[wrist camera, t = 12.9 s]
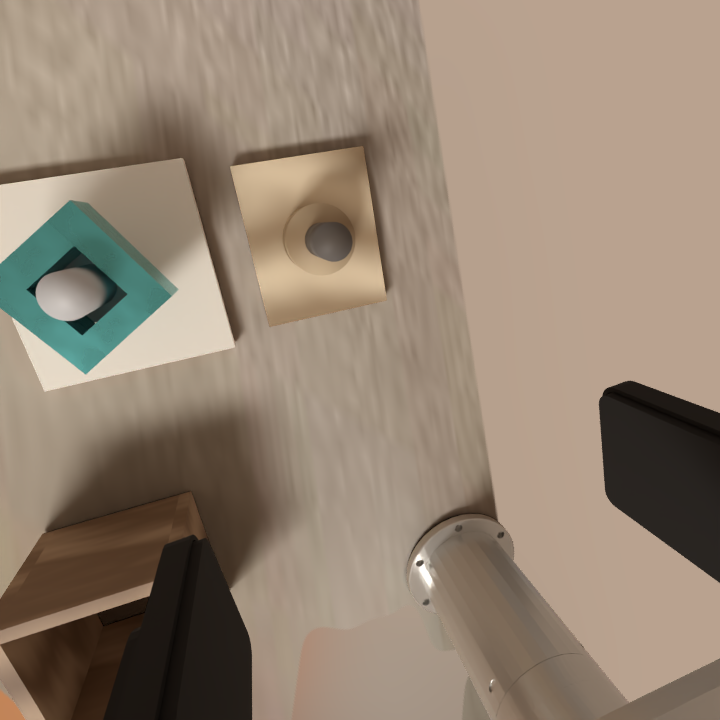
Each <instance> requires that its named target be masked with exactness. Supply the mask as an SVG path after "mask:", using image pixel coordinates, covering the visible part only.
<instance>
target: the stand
mask: <svg viewBox="0 0 720 720" xmlns="http://www.w3.org/2000/svg"><path fill="white" fill-rule="evenodd" d="M230 169H231V173H232V177H233V181H234V185H235V189H236V194H237V198H238V202H239V206H240V210H241V214H242V218H243V222H244V226H245V230H246V234H247V238H248V242H249V246H250V250H251V254H252V258H253V262H254V266H255V270H256V274H257V278H258V282H259V286H260V290H261V295H262V299H263V303H264V307H265V311H266V315H267V319H268V323H269V326H270V327H271V326H276V325H280V324H285V323H289V322H293V321H298V320H302V319H307V318H311V317H316V316H320V315H324V314H329V313H333V312H338V311H342V310H346V309H351V308H355V307H360V306H364V305H369V304H373V303H377V302H382V301H386V300H387V298H386V292H385V285H384V278H383V272H382V265H381V259H380V252H379V246H378V239H377V233H376V226H375V220H374V213H373V206H372V200H371V193H370V187H369V180H368V174H367V167H366V161H365V154H364V148H363V146H359V147H352V148H346V149H339V150H333V151H326V152H320V153H314V154H307V155H301V156H294V157H288V158H281V159H275V160H268V161H262V162H256V163H249V164H243V165H236V166H230Z"/></svg>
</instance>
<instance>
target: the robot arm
mask: <svg viewBox="0 0 720 720" xmlns="http://www.w3.org/2000/svg"><path fill="white" fill-rule="evenodd" d="M599 410H600V424H601V439H602V452H603V466H604V481H605V492H606V495H607V497H608V499H609V500H610V502H611V503H612V504H613V505H614V506H615V507H617V508H618V509H619V510H621V511H622V512H623V513H625V514H626V515H628V516H629V517H631V518H632V519H633V520H634V521H636V522H637V523H639V524H640V525H641V526H643V527H644V528H645V529H647V530H648V531H650V532H651V533H652V534H654V535H655V536H656V537H658V538H659V539H661V540H662V541H663V542H665V543H666V544H667V545H669V546H670V547H672V548H673V549H674V550H676V551H677V552H678V553H680V554H681V555H682V556H684V557H685V558H687V559H688V560H690V561H691V562H692V563H693V564H695V565H696V566H697V567H699V568H700V569H702V570H703V571H704V572H706V573H707V574H708V575H710V576H711V577H713V578H714V579H715V580H717V581H718V582H720V413H718V412H715V411H713V410H710V409H707V408H704V407H702V406H699V405H696V404H694V403H691V402H688V401H685V400H683V399H680V398H677V397H675V396H672V395H669V394H667V393H664V392H661V391H658V390H656V389H653V388H650V387H647V386H645V385H642V384H639V383H637V382H633V381H627V382H623V383H620V384H618V385H615V386H612V387H609V388H607V389H606V390H605V391H604V392H603V396H602V397H601V398H600V401H599ZM513 560H514V547H513V541H512V539H511V537H510V535H509V533H508V532H507V531H506V530H505V528H504V527H503V526H502V525H501V524H500V523H499V522H498V521H496V520H495V519H493V518H491V517H489V516H485V515H482V514H464V515H459V516H456V517H453V518H450V519H448V520H446V521H444V522H441V523H440V524H438V525H437V526H435V527H434V528H432V529H431V530H430V531H429V532H428V533H427V534H426V535H425V536H424V537H423V538H422V539H421V540H420V541H419V543H418V544H417V545H416V547H415V549H414V550H413V552H412V554H411V556H410V559H409V562H408V566H407V572H406V575H407V584H408V587H409V590H410V592H411V594H412V596H413V598H414V600H415V601H416V602H417V604H418V605H419V606H421V607H422V608H423V609H425V610H427V611H429V612H431V613H434V614H438V616H439V618H440V620H441V622H442V624H443V626H444V628H445V630H446V632H447V634H448V636H449V638H450V640H451V642H452V644H453V646H454V647H455V649H456V651H457V653H458V655H459V657H460V659H461V661H462V663H463V665H464V667H465V669H466V671H467V673H468V675H469V677H470V679H471V681H472V683H473V685H474V687H475V689H476V691H477V693H478V695H479V697H480V699H481V701H482V703H483V705H484V707H485V709H486V711H487V712H488V714H489V716H490V718H491V720H720V659H718V660H716V661H714V662H712V663H710V664H708V665H706V666H704V667H702V668H700V669H698V670H695V671H693V672H691V673H689V674H687V675H685V676H683V677H681V678H679V679H677V680H675V681H673V682H671V683H669V684H667V685H665V686H663V687H661V688H659V689H657V690H655V691H653V692H651V693H648V694H646V695H644V696H642V697H640V698H638V699H636V700H634V701H632V702H630V703H629V702H628V701H627V700H626V699H625V697H624V696H623V695H622V694H621V692H620V691H619V690H618V689H617V688H616V686H615V685H614V684H613V683H612V682H611V680H610V679H609V678H608V677H607V676H606V674H605V673H604V672H603V671H602V669H601V668H600V667H599V666H598V664H597V663H596V662H595V661H594V660H593V658H592V657H591V656H590V655H589V653H588V652H587V651H586V650H585V649H584V647H583V646H582V645H581V644H580V642H579V641H578V640H577V639H576V637H575V636H574V635H573V634H572V632H571V631H570V630H569V629H568V628H567V626H566V625H565V624H564V623H563V621H562V620H561V619H560V618H559V617H558V615H557V614H556V613H555V612H554V610H553V609H552V608H551V607H550V605H549V604H548V603H547V602H546V601H545V599H544V598H543V597H542V596H541V595H540V593H539V592H538V591H537V590H536V588H535V587H534V586H533V585H532V583H531V582H530V581H529V580H528V579H527V577H526V576H525V575H524V574H523V572H522V571H521V570H520V569H519V568H518V566H517V565H516V564H515V563H514V561H513ZM103 720H252V650H251V643H250V638H249V635H248V632H247V629H246V627H245V625H244V623H243V620H242V618H241V616H240V613H239V611H238V609H237V606H236V604H235V602H234V599H233V597H232V595H231V592H230V590H229V588H228V585H227V583H226V581H225V578H224V576H223V574H222V571H221V569H220V567H219V564H218V562H217V560H216V557H215V555H214V553H213V550H212V548H211V546H210V543H209V541H208V540H207V539H206V538H203V539H200V540H198V538H197V537H196V536H195V535H190V536H187V537H184V538H181V539H179V540H176V541H173V542H170V543H167V544H165V545H164V547H163V550H162V553H161V557H160V560H159V564H158V568H157V571H156V575H155V578H154V582H153V585H152V589H151V593H150V596H149V600H148V603H147V607H146V610H145V614H144V618H143V621H142V625H141V627H139V628H136V629H134V630H133V631H132V632H131V633H130V635H129V638H128V640H127V643H126V646H125V649H124V653H123V656H122V659H121V662H120V666H119V669H118V672H117V675H116V679H115V682H114V685H113V689H112V692H111V695H110V698H109V702H108V705H107V708H106V712H105V715H104V718H103Z"/></svg>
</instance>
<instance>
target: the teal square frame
mask: <svg viewBox="0 0 720 720" xmlns="http://www.w3.org/2000/svg"><path fill="white" fill-rule="evenodd" d="M81 253H83V254H84V255H85V256H86V257H87V258H88V259H89V260H90V261H91V262H93V263H94V264H95V265H96V266H97V267H98V268H99V269H100V270H101V271H103V272H104V273H105V274H106V275H107V276H108V277H109V278H110V279H111V280H113V281H114V282H115V283H116V284H117V285H118V286H119V287H120V288H121V289H123V290H124V291H125V292H126V293H127V295H126V296H125V297H124V298H123V299H122V300H121V301H120V302H119V303H117V304H116V305H115V306H114V307H113V308H112V309H111V310H110V311H109V312H108V313H107V314H105V315H104V316H103V317H102V318H101V319H100V320H99V321H98V322H97V323H95V322H94V321H92V320H91V319H90V318H89V317H88V316H86V315H85V316H83V317H82V318H80V319H77V320H73V321H62V320H58V319H55V318H53V317H51V316H49V315H48V314H47V313H45V312H44V311H43V310H42V308H41V307H40V306H39V304H38V302H37V299H36V288H37V285H38V283H39V281H40V280H41V279H42V278H43V277H44V276H46V275H48V274H50V273H53V272H57V271H61V270H63V269H64V268H66V267H67V266H68V265H69V264H70V263H71V262H72V261H73V260H74V259H75V258H77V257H78V256H79V255H80V254H81ZM178 290H179V289H178V288H177V287H176V286H174V285H173V284H172V283H171V282H170V281H169V280H168V279H167V278H166V277H165V276H164V275H163V274H162V273H161V272H160V271H159V270H158V269H157V268H156V267H155V266H154V265H153V264H151V263H150V262H149V261H148V260H147V259H146V258H145V257H144V256H143V255H142V254H141V253H140V252H139V251H138V250H137V249H136V248H135V247H134V246H133V245H132V244H131V243H130V242H128V241H127V240H126V239H125V238H124V237H123V236H122V235H121V234H120V233H119V232H118V231H117V230H116V229H115V228H114V227H113V226H112V225H111V224H110V223H109V222H108V221H107V220H105V219H104V218H103V217H102V216H101V215H100V214H99V213H98V212H97V211H96V210H95V209H94V208H93V207H92V206H91V205H90V204H89V203H86V202H80V201H73V200H69V201H68V202H67V203H66V204H65V205H64V206H63V207H62V208H61V209H60V210H58V211H57V212H56V213H55V214H54V215H53V216H52V217H51V218H50V219H49V220H48V221H46V222H45V223H44V224H43V225H42V226H41V227H40V228H39V229H38V230H37V231H35V232H34V233H33V234H32V235H31V236H30V237H29V238H28V239H27V240H26V241H25V242H23V243H22V244H21V245H20V246H19V247H18V248H17V249H16V250H15V251H14V252H12V253H11V254H10V255H9V256H8V257H7V258H6V259H5V260H4V261H3V262H2V263H0V308H1V309H2V310H4V311H5V312H6V313H7V314H9V315H10V316H11V317H13V318H14V319H15V320H16V321H18V322H19V323H20V324H22V325H23V326H24V327H25V328H27V329H28V330H29V331H30V332H32V333H33V334H34V335H36V336H37V337H38V338H39V339H41V340H42V341H43V342H45V343H46V344H47V345H48V346H50V347H51V348H52V349H53V350H55V351H56V352H57V353H59V354H60V355H61V356H62V357H64V358H65V359H66V360H68V361H69V362H70V363H71V364H73V365H74V366H75V367H76V368H78V369H79V370H80V371H82V372H83V373H84V374H85V375H86V374H87V373H88V372H89V371H90V370H92V369H93V368H94V367H95V366H96V365H97V364H98V363H99V362H100V361H101V360H102V359H104V358H105V357H106V356H107V355H108V354H109V353H110V352H111V351H112V350H113V349H115V348H116V347H117V346H118V345H119V344H120V343H121V342H122V341H123V340H124V339H126V338H127V337H128V336H129V335H130V334H131V333H132V332H133V331H134V330H135V329H137V328H138V327H139V326H140V325H141V324H142V323H143V322H144V321H145V320H146V319H147V318H149V317H150V316H151V315H152V314H153V313H154V312H155V311H156V310H157V309H158V308H160V307H161V306H162V305H163V304H164V303H165V302H166V301H167V300H168V299H169V298H171V297H172V296H173V295H174V294H175V293H176V292H177V291H178Z"/></svg>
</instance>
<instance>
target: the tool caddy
mask: <svg viewBox="0 0 720 720" xmlns="http://www.w3.org/2000/svg"><path fill="white" fill-rule="evenodd" d="M190 535H195V536H196V537H197V538H198V540H200V539H203V538H206V539H207V540H208V538H207V535H206V532H205V529H204V526H203V523H202V521H201V518H200V515H199V512H198V509H197V507H196V504H195V501H194V498H193V495H192V492H191V491H190V492H187V493H183V494H180V495H176V496H173V497H169V498H166V499H162V500H159V501H155V502H152V503H148V504H145V505H141V506H138V507H134V508H131V509H127V510H124V511H120V512H117V513H113V514H110V515H106V516H103V517H99V518H96V519H93V520H89V521H86V522H82V523H79V524H75V525H72V526H68V527H65V528H61V529H58V530H54V531H51V532H47V533H44V534H42V535H41V537H40V539H39V540H38V542H37V543H36V545H35V546H34V548H33V549H32V551H31V552H30V554H29V556H28V557H27V559H26V560H25V562H24V563H23V565H22V566H21V568H20V569H19V571H18V573H17V574H16V576H15V577H14V579H13V580H12V582H11V583H10V585H9V586H8V588H7V589H6V591H5V593H4V594H3V596H2V597H1V599H0V680H1V681H2V683H3V685H4V686H5V688H6V689H7V691H8V693H9V694H10V696H11V697H12V699H13V700H14V702H15V704H16V705H17V707H18V708H19V710H20V711H21V713H22V715H23V716H24V718H25V719H26V720H103V718H104V715H105V712H106V708H107V705H108V702H109V698H110V695H111V692H112V689H113V685H114V682H115V679H116V675H117V672H118V669H119V666H120V662H121V659H122V656H123V653H124V649H125V646H126V643H127V640H128V638H129V635H130V633H131V632H132V631H133V630H134V629H136V628H139V627H141V625H142V621H143V618H144V614H145V613H143V614H140V615H137V616H134V617H131V618H128V619H125V620H122V621H119V622H116V623H113V624H110V625H107V626H104V627H103V625H102V623H101V621H100V619H99V617H98V615H97V613H98V612H101V611H105V610H108V609H111V608H114V607H117V606H120V605H123V604H126V603H129V602H132V601H135V600H138V599H141V598H145V597H148V596H150V593H151V589H152V585H153V582H154V578H155V575H156V571H157V568H158V564H159V560H160V557H161V553H162V550H163V547H164V545H165V544H167V543H170V542H173V541H176V540H179V539H181V538H184V537H187V536H190ZM208 541H209V540H208Z"/></svg>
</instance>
